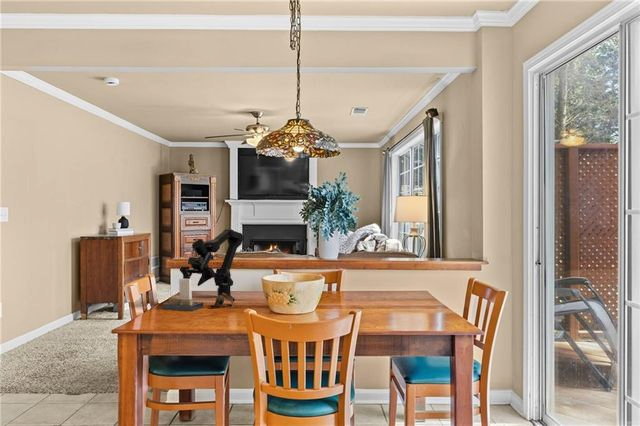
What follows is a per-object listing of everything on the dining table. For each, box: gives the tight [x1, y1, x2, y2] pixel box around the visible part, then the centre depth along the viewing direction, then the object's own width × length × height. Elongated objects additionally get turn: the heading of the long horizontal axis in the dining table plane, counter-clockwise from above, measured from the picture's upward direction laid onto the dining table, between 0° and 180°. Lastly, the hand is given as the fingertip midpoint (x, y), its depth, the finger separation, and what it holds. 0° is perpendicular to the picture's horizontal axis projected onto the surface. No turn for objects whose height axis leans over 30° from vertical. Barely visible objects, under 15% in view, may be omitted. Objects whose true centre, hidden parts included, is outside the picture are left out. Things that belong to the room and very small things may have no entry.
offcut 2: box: [180, 298, 193, 305], centre depth 227 cm, size 2×6×5 cm, turn 68°
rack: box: [162, 301, 205, 312], centre depth 230 cm, size 10×18×3 cm, turn 68°
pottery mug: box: [213, 293, 236, 309], centre depth 233 cm, size 12×10×8 cm
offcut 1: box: [168, 297, 181, 304], centre depth 229 cm, size 2×6×5 cm, turn 68°
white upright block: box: [178, 278, 193, 300], centre depth 232 cm, size 2×6×14 cm, turn 68°
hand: (190, 285), depth 235 cm, fingers open, 9 cm apart
